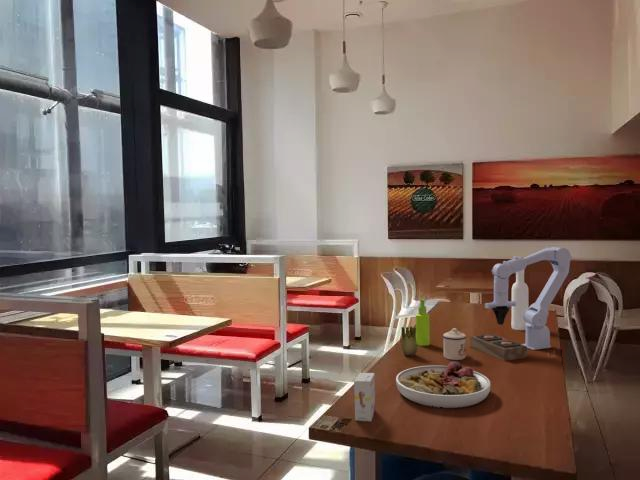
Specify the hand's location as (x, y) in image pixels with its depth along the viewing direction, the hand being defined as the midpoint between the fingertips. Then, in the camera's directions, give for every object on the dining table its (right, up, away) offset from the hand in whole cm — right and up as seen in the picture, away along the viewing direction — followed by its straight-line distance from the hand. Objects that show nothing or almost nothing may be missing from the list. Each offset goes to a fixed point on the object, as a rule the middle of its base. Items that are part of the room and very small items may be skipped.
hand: (500, 324), depth 225 cm
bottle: (+21, -8, +35) cm, 41 cm away
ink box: (-63, -17, -68) cm, 94 cm away
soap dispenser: (-31, -11, +11) cm, 34 cm away
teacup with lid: (-21, -12, -9) cm, 26 cm away
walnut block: (-3, -11, -5) cm, 12 cm away
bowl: (-36, -15, -51) cm, 64 cm away
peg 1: (-5, -10, 0) cm, 11 cm away
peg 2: (-1, -11, -10) cm, 15 cm away
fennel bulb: (-39, -12, -6) cm, 42 cm away
